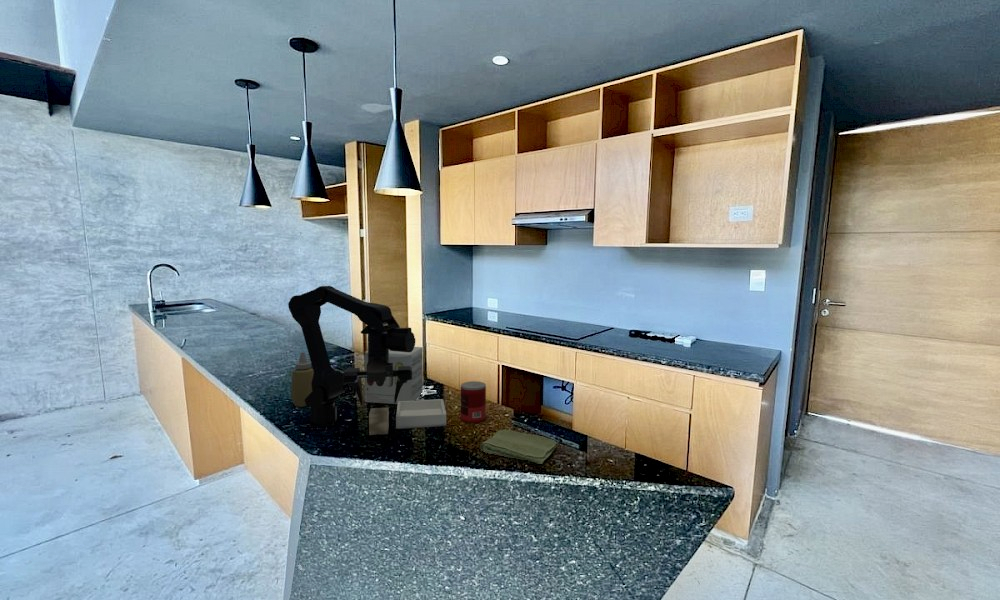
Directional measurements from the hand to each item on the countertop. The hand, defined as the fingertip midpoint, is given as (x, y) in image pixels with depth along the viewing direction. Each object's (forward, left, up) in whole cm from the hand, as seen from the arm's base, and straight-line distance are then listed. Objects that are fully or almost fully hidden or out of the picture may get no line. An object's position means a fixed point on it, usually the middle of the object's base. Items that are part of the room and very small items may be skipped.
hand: (378, 403), depth 118 cm
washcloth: (+37, -19, -9) cm, 43 cm away
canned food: (+28, +5, -8) cm, 30 cm away
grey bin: (+12, +8, -8) cm, 17 cm away
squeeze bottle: (-27, +28, -8) cm, 40 cm away
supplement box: (+3, +30, -8) cm, 31 cm away
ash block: (0, 0, -8) cm, 8 cm away
